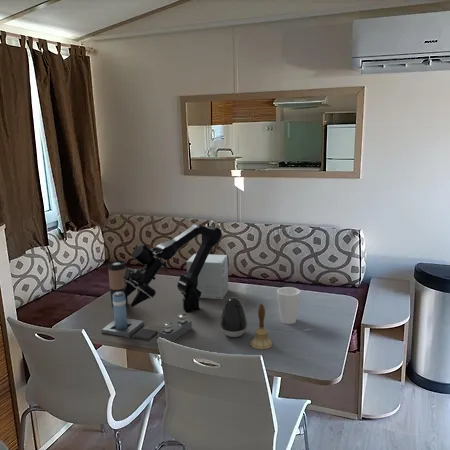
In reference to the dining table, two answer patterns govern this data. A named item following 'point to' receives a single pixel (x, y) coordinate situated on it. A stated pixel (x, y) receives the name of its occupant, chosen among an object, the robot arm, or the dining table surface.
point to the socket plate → (132, 327)
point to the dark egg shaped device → (233, 318)
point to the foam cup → (288, 304)
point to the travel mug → (116, 278)
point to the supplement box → (212, 276)
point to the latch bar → (176, 330)
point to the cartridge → (120, 311)
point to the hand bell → (261, 333)
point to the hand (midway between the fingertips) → (126, 302)
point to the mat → (145, 334)
